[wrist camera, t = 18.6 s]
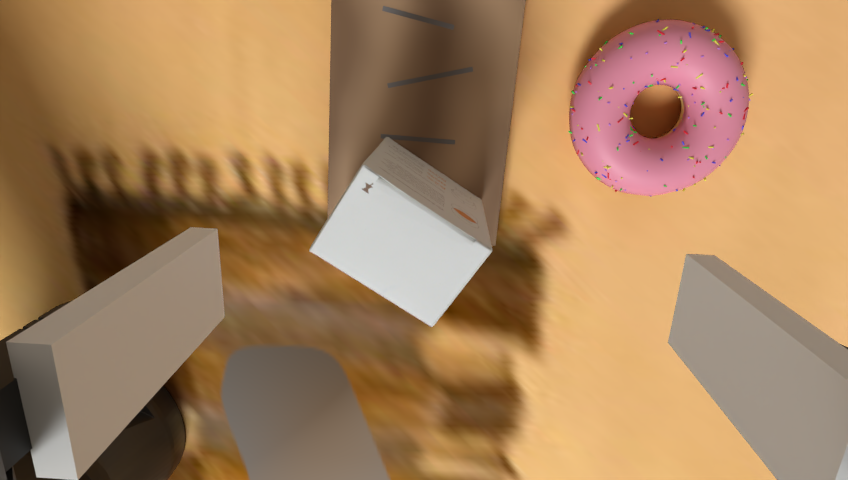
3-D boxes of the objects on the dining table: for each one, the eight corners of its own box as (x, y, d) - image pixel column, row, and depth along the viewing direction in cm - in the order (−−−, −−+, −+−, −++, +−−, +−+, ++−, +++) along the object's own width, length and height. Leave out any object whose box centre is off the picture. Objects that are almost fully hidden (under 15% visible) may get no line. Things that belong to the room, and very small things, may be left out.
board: (332, 224, 39) (327, 230, 38) (338, -83, 33) (333, -89, 32) (493, 239, 39) (495, 245, 38) (531, -69, 33) (534, -75, 31)
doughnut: (717, 189, 37) (747, 203, 33) (557, 189, 38) (568, 203, 34) (744, 20, 34) (782, 14, 30) (567, 23, 34) (582, 18, 30)
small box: (344, 200, 37) (302, 250, 27) (387, 133, 36) (360, 160, 26) (439, 262, 38) (431, 332, 28) (484, 200, 37) (494, 251, 27)
